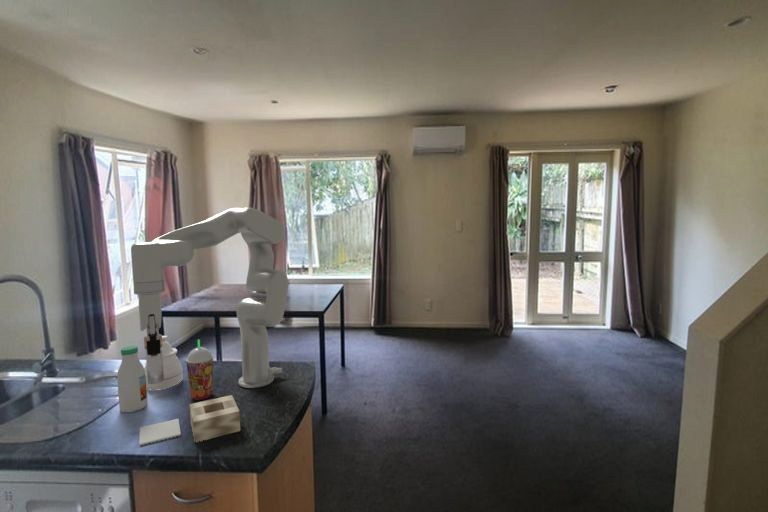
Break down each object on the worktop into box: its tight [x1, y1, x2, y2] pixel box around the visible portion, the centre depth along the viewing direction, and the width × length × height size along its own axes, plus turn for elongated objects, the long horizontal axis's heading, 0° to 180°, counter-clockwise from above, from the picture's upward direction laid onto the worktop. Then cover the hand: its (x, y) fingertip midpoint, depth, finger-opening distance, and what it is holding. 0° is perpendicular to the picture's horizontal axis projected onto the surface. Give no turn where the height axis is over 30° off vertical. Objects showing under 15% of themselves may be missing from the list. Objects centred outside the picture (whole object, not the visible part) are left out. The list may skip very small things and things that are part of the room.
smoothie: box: [185, 339, 214, 401], centre depth 138 cm, size 8×8×20 cm
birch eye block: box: [188, 394, 241, 443], centre depth 118 cm, size 12×12×6 cm
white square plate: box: [138, 418, 182, 446], centre depth 116 cm, size 10×10×1 cm
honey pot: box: [143, 335, 184, 391], centre depth 149 cm, size 13×13×18 cm
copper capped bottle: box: [143, 333, 164, 384], centre depth 113 cm, size 4×4×13 cm
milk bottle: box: [116, 345, 148, 413], centre depth 130 cm, size 8×8×20 cm
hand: (154, 350), depth 113 cm, fingers closed on copper capped bottle, 4 cm apart
